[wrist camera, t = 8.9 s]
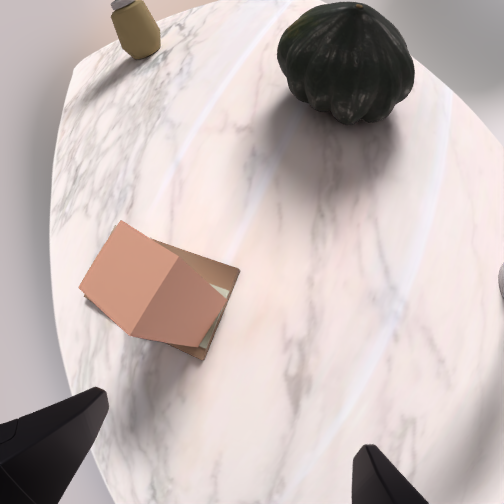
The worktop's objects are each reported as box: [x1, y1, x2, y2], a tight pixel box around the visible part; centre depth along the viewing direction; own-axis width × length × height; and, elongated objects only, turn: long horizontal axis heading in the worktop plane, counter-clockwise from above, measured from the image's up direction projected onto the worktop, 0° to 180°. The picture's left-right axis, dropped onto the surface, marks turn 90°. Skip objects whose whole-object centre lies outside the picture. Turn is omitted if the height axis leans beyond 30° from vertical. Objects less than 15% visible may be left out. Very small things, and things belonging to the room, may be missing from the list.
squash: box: [277, 2, 415, 125], centre depth 24 cm, size 14×15×15 cm
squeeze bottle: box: [111, 0, 161, 59], centre depth 35 cm, size 8×8×18 cm
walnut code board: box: [84, 225, 240, 360], centre depth 24 cm, size 8×14×1 cm, turn 69°
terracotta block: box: [78, 220, 227, 347], centre depth 18 cm, size 4×4×10 cm
